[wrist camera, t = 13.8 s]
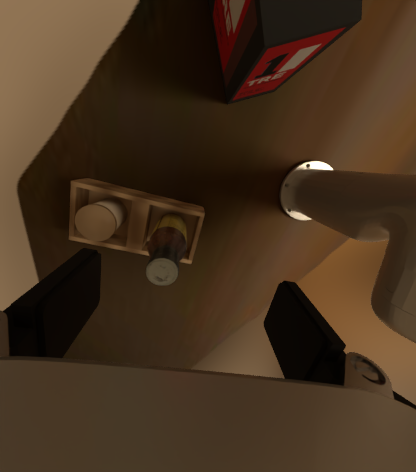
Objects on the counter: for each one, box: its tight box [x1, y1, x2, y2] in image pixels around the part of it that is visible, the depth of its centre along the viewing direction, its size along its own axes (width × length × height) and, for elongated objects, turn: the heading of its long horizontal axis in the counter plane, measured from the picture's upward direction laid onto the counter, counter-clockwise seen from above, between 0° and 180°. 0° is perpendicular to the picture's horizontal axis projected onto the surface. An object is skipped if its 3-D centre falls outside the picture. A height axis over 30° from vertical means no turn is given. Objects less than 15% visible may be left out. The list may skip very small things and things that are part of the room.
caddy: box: [69, 178, 205, 264], centre depth 40 cm, size 24×11×6 cm, turn 75°
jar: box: [75, 198, 128, 241], centre depth 37 cm, size 6×6×8 cm
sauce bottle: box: [146, 213, 187, 286], centre depth 34 cm, size 7×6×20 cm
